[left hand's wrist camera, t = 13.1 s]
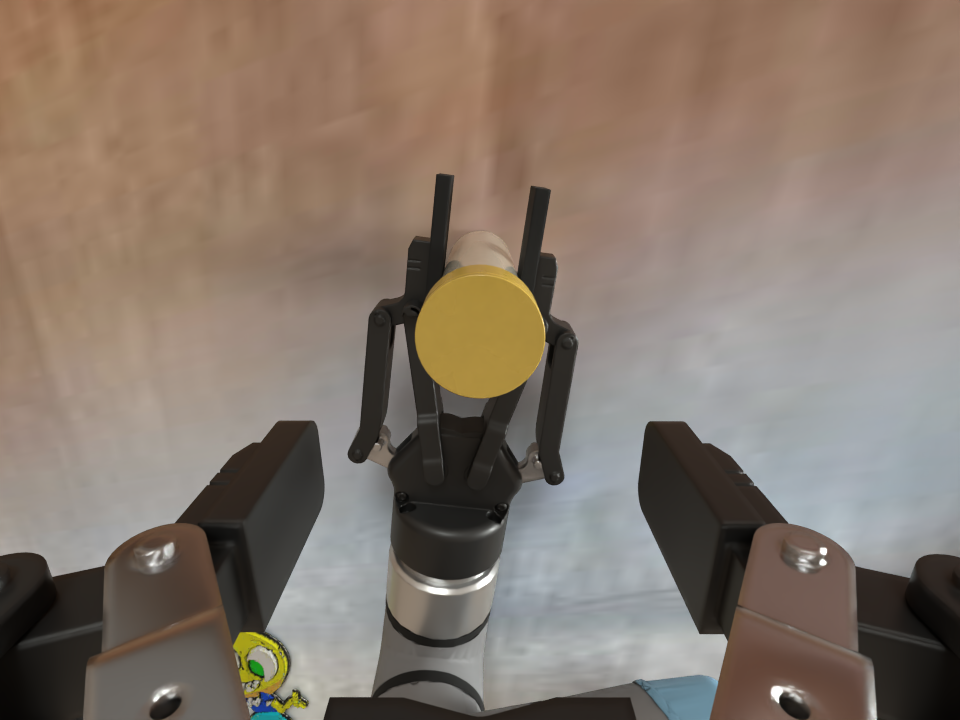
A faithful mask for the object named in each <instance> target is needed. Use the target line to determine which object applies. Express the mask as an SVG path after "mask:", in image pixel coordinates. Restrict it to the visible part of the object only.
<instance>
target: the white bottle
mask: <svg viewBox="0 0 960 720" xmlns="http://www.w3.org/2000/svg"><path fill="white" fill-rule="evenodd" d="M477 264H480V265H491V266H496V267H499V268H502V269H504V270H507V271H509V272H510V273H512V274H514V275H515V276H517V277H518V275H517V272H516V269H515V266H514V264H513V261H512V258H511V255H510V252H509V249H508V247H507V246H506V244H505V243H504V242H503V240H502V239H500V238H499V237H498V236H496V235H495V234H493V233H490V232H486V231H474V232H470V233H467V234H465V235H464V236H462V237H461V238H460V239H458V240H457V242H456V243H455V244H454V246H453V247H452V249H451V252H450V255H449V258H448V261H447V264H446V266H445V269H444V272H443V275H442V277H444V276H445V275H446V274H448V273H450V272H452V271H453V270H456V269H458V268H461V267H465V266H469V265H477Z"/></svg>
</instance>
